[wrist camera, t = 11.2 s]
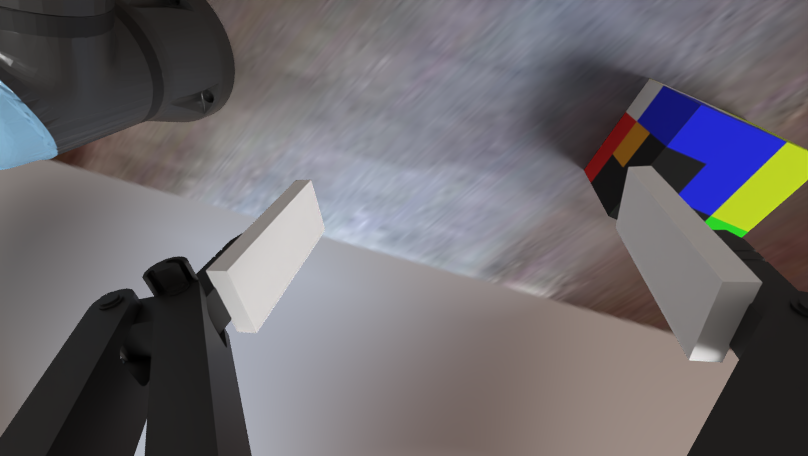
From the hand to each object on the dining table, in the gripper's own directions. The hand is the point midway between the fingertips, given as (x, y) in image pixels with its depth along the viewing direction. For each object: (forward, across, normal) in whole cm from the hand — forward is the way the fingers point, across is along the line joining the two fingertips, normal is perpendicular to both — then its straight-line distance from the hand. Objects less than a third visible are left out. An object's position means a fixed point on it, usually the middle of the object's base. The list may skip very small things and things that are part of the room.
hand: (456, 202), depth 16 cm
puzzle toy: (+25, +18, -8) cm, 32 cm away
